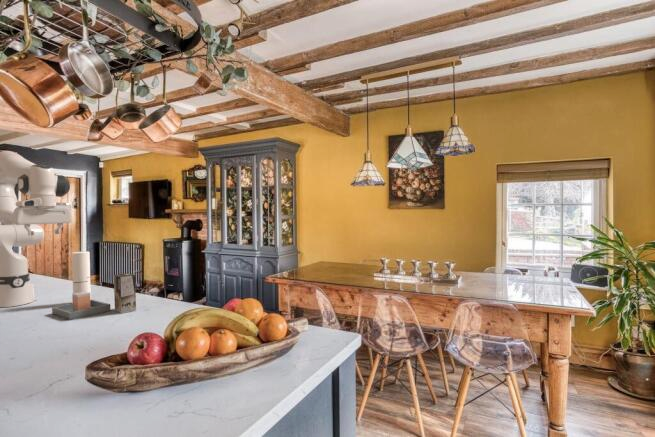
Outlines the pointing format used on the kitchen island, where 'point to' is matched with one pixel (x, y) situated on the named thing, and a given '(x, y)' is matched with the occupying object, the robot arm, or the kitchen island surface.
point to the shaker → (81, 301)
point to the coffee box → (125, 292)
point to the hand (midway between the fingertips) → (44, 234)
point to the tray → (68, 313)
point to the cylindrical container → (81, 272)
